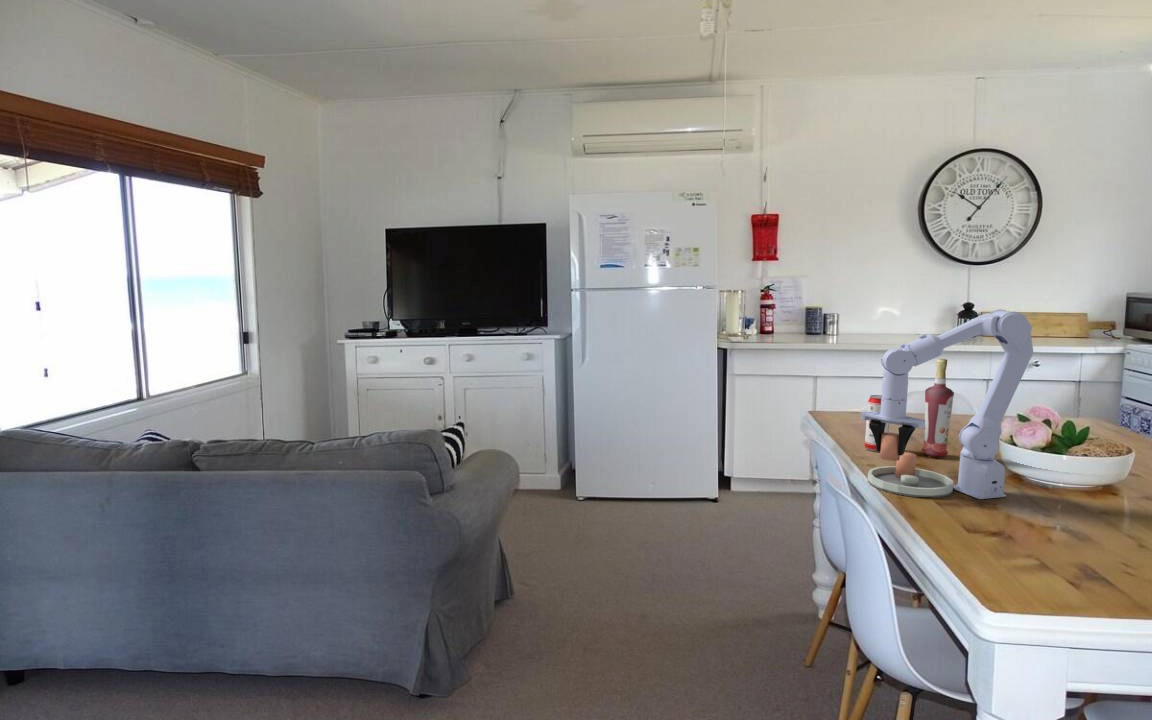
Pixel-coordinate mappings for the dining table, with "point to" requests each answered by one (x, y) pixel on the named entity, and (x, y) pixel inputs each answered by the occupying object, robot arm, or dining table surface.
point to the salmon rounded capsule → (906, 465)
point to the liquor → (937, 414)
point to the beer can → (872, 406)
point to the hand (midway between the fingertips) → (890, 452)
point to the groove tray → (911, 482)
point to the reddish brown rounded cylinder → (889, 446)
